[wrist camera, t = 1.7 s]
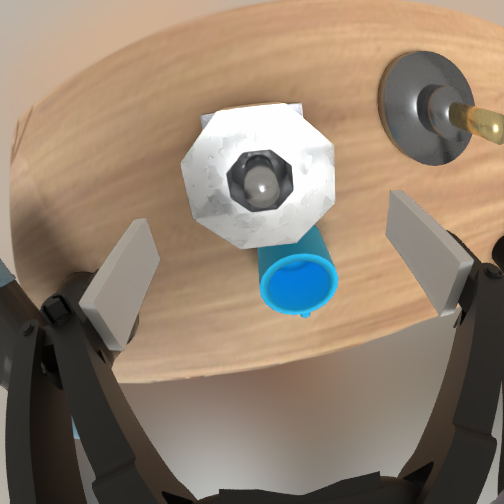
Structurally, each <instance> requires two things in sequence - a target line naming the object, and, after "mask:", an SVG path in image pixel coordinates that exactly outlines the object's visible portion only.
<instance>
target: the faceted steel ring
mask: <svg viewBox="0 0 504 504" xmlns="http://www.w3.org/2000/svg"><path fill="white" fill-rule="evenodd" d="M266 149H271V150H273V151H274V152H275V153H277V154H278V155H279V156H280V157H282V158H283V159H284V160H286V167H287V176H286V177H285V178H284V179H283V180H282V181H281V182H280V184H279V188H280V194H279V197H278V199H277V201H276V202H275V203H274V204H272V205H271V206H268V207H264V208H259V207H255V206H253V205H251V204H250V203H249V202H248V201H247V200H246V198H245V195H244V189H243V188H242V187H241V186H239V185H238V184H236V183H235V182H233V178H232V172H231V167H232V165H233V164H234V163H235V161H236V160H237V159H238V158H239V156H240V155H241V154H242V153H243V152H249V151H257V150H266ZM180 165H181V170H182V174H183V179H184V183H185V187H186V192H187V196H188V200H189V204H190V208H191V212H192V216H193V220H195V221H197V222H198V223H200V224H201V225H203V226H204V227H206V228H208V229H209V230H211V231H212V232H214V233H216V234H217V235H219V236H220V237H222V238H223V239H225V240H227V241H228V242H230V243H231V244H233V245H234V246H236V247H238V248H239V249H248V248H256V247H265V246H274V245H282V244H291V243H297V242H298V241H299V240H300V239H301V237H302V236H303V235H304V234H305V233H306V232H307V231H308V230H309V229H310V228H311V227H312V226H313V225H314V224H315V223H316V222H317V221H318V220H319V219H320V218H321V217H322V216H323V215H324V214H325V213H326V212H327V211H328V210H329V209H330V207H331V206H332V205H333V204H334V203H335V165H334V145H333V144H332V143H331V142H330V141H329V140H327V139H326V138H325V137H324V136H323V135H322V134H321V133H320V132H318V131H317V130H316V129H315V128H314V127H313V126H311V125H310V124H309V123H308V122H307V121H306V120H304V119H303V118H302V117H301V116H300V115H298V114H297V113H296V112H295V111H293V110H292V109H291V108H290V107H288V106H287V105H286V104H284V103H281V102H279V101H278V102H267V103H258V104H249V105H242V106H234V107H228V108H222V109H221V110H219V111H218V112H217V113H216V114H215V115H214V117H213V118H212V119H211V121H210V122H209V123H208V125H207V126H206V127H205V129H204V130H203V131H202V133H201V134H200V136H199V137H198V138H197V140H196V141H195V143H194V144H193V146H192V147H191V148H190V150H189V151H188V153H187V154H186V156H185V157H184V159H183V160H182V162H181V163H180Z"/></svg>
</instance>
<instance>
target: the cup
mask: <svg viewBox="0 0 504 504" xmlns="http://www.w3.org/2000/svg"><path fill="white" fill-rule="evenodd" d="M492 259H493V260H494V261H495V263H496V264H497V265H498V267H499V268H500V269H501V271H502V272H503V274H504V236H503V237H501V238H500V239H499V240H498V241H497V243H496V244H495V246H494V248H493V251H492Z"/></svg>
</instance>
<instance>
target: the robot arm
mask: <svg viewBox="0 0 504 504" xmlns="http://www.w3.org/2000/svg"><path fill="white" fill-rule="evenodd" d="M386 236H387V238H388V239H389V240H390V242H391V243H392V244H393V246H394V247H395V249H396V250H397V251H398V253H399V254H400V256H401V257H402V258H403V260H404V261H405V263H406V264H407V266H408V267H409V269H410V270H411V272H412V273H413V275H414V276H415V278H416V279H417V281H418V282H419V284H420V285H421V287H422V288H423V290H424V292H425V293H426V295H427V296H428V298H429V300H430V301H431V303H432V304H433V306H434V308H435V309H436V311H437V313H438V314H439V316H440V317H442V316H446V315H449V314H453V313H454V311H455V308H456V306H457V304H458V303H459V305H460V306H461V308H462V310H461V312H460V314H459V316H458V318H457V320H456V322H455V324H454V328H455V327H456V326H457V328H456V334H455V338H454V342H453V346H452V350H451V354H450V358H449V362H448V365H447V369H446V372H445V376H444V379H443V382H442V385H441V389H440V392H439V394H438V397H437V400H436V403H435V406H434V408H433V411H432V413H431V416H430V418H429V421H428V423H427V426H426V428H425V430H424V433H423V435H422V437H421V439H420V442H419V444H418V446H417V448H416V450H415V452H414V454H413V455H412V456H411V458H410V459H409V460H408V462H407V463H406V464H405V466H404V467H403V468H402V470H401V472H400V473H399V475H398V477H397V478H396V477H389V476H380V471H378V472H374V473H371V474H367V475H363V476H359V477H354V478H350V479H345V480H341V481H339V482H336V483H334V484H332V485H329V486H327V487H324V488H321V489H319V490H316V491H314V492H311V493H308V494H305V495H291V494H283V493H276V492H270V491H264V490H259V489H255V490H233V489H232V490H231V489H219V494H216V495H212V496H208V497H205V498H203V499H200V500H197V499H196V498H195V497H194V496H193V494H192V493H191V492H190V491H189V490H188V489H187V488H186V487H185V486H184V485H183V484H182V483H181V482H179V481H178V480H177V479H176V477H175V476H174V475H173V473H172V472H171V471H170V469H169V468H168V467H167V465H166V464H165V462H164V461H163V460H162V458H161V457H160V455H159V454H158V452H157V451H156V449H155V448H154V446H153V444H152V443H151V441H150V440H149V438H148V437H147V435H146V433H145V432H144V430H143V428H142V427H141V425H140V423H139V422H138V420H137V418H136V416H135V415H134V413H133V411H132V409H131V407H130V406H129V404H128V402H127V400H126V398H125V396H124V394H123V392H122V390H121V388H120V386H119V384H118V382H117V380H116V378H115V376H114V374H113V372H112V370H111V368H112V365H113V363H114V360H115V358H116V357H117V356H118V355H119V354H120V352H121V351H124V349H125V347H126V345H127V344H128V343H129V342H130V341H131V340H132V339H133V337H134V335H135V333H136V330H137V327H138V324H139V316H138V312H139V309H140V307H141V304H142V302H143V299H144V297H145V295H146V292H147V290H148V287H149V285H150V282H151V280H152V278H153V275H154V273H155V271H156V268H157V266H158V264H159V262H160V257H159V254H158V251H157V248H156V246H155V243H154V240H153V237H152V234H151V231H150V228H149V225H148V222H147V218H141V219H135V220H133V222H132V223H131V224H130V226H129V227H128V229H127V230H126V231H125V233H124V234H123V235H122V237H121V238H120V240H119V241H118V243H117V244H116V245H115V247H114V248H113V250H112V251H111V253H110V254H109V256H108V257H107V259H106V260H105V262H104V263H103V265H102V266H101V268H100V269H98V270H97V271H95V272H94V273H93V274H92V273H86V272H78V273H73V274H71V275H69V276H68V277H66V279H65V280H64V281H63V283H62V284H61V286H60V287H59V289H58V291H57V293H56V294H54V295H52V296H50V297H49V298H47V299H46V300H45V302H44V303H43V304H42V306H41V310H40V311H41V312H40V311H39V309H38V308H37V307H36V306H35V305H34V303H33V302H32V301H31V300H30V298H29V297H28V296H27V295H26V293H25V292H24V291H23V289H22V288H21V287H20V285H19V284H18V283H17V281H16V280H15V278H16V277H15V275H13V274H11V273H10V271H9V270H8V269H7V267H6V266H5V265H4V263H3V262H2V260H1V259H0V386H2V387H4V388H5V389H6V390H7V391H8V397H7V409H6V431H5V433H6V434H5V442H6V443H5V448H6V449H5V450H6V470H7V481H8V489H9V496H10V504H87V501H86V497H85V493H84V489H83V485H82V481H81V476H80V471H79V466H78V461H77V455H76V449H75V442H74V438H75V439H80V440H81V443H82V445H83V448H84V450H85V452H86V455H87V457H88V460H89V462H90V464H91V466H92V468H93V471H94V473H95V476H96V480H95V481H94V482H93V483H92V489H93V492H94V494H95V496H96V498H97V500H98V502H99V504H476V503H477V501H478V499H479V496H480V494H481V492H482V489H483V487H484V484H485V482H486V479H487V476H488V473H489V470H490V468H491V465H492V462H493V458H494V455H495V452H496V446H497V440H496V438H494V437H492V435H491V432H492V427H493V423H494V419H495V414H496V410H497V404H498V399H499V393H500V387H501V381H502V393H503V429H502V445H501V455H500V463H499V474H498V497H497V499H496V500H494V501H493V502H491V503H490V504H504V275H503V272H502V271H501V270H500V269H499V268H498V267H497V266H495V265H493V264H490V263H481V261H480V260H479V259H478V258H477V257H476V256H475V255H474V254H473V253H472V252H471V251H470V249H469V248H467V246H466V245H465V244H464V243H462V241H461V240H460V239H459V238H458V237H457V236H456V235H454V234H453V233H451V232H450V231H448V230H445V229H444V228H443V227H442V226H441V225H440V224H439V223H438V222H437V221H436V220H435V219H434V218H433V217H432V216H430V215H429V214H428V213H427V212H426V211H425V210H424V209H423V208H422V207H421V206H420V205H419V204H417V203H416V202H415V201H414V200H413V199H412V198H411V197H409V196H408V195H407V194H406V193H405V192H404V191H402V190H393V191H390V198H389V209H388V219H387V227H386Z"/></svg>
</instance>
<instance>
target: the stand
mask: <svg viewBox="0 0 504 504" xmlns="http://www.w3.org/2000/svg"><path fill="white" fill-rule="evenodd" d="M286 105H287V106H288V107H290V108H291V109H292V110H293V111H295V112H296V113H297V114H298V115H300V116H301V117H302V118H303V113H302V103H288V104H286ZM216 113H217V112H214V113H208V114H203V115H201V116H200V117H201V123H202V129H203V130H204V129H205V127H206V126H207V125H208V123H209V122H210V121H211V119H212V118H213V117H214V115H215V114H216ZM231 172H232V178H233V182H235V183H236V184H238V185H239V186H241V187H242V188H243V189H244V195H245V198H246V200H247V201H248V202H249V203H250V204H251V205H253V206H255V207H259V208H264V207H268V206H271V205H272V204H274V203H275V202H276V201H277V199H278V197H279V194H280V188H279V184H280V182H281V181H282V180H283V179H284V178H285V177H286V176H287V167H286V160H284V159H283V158H282V157H280V156H279V155H278V154H277V153H275V152H274V151H273V150H271V149H266V150H257V151H249V152H243V153H242V154H241V155H240V156H239V158H238V159H237V160H236V161H235V163H234V164H233V165H232V167H231Z"/></svg>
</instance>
